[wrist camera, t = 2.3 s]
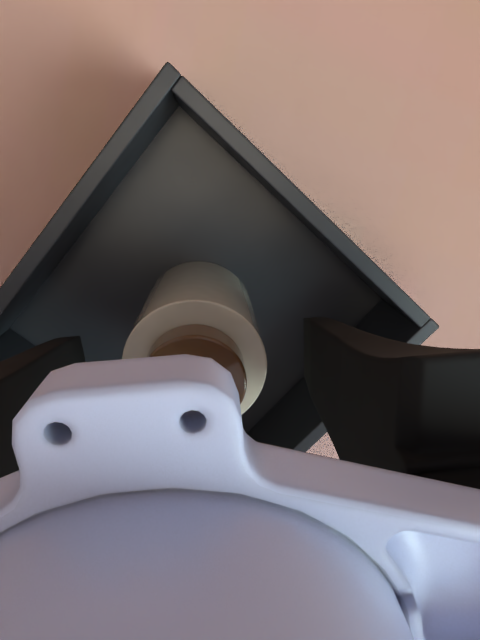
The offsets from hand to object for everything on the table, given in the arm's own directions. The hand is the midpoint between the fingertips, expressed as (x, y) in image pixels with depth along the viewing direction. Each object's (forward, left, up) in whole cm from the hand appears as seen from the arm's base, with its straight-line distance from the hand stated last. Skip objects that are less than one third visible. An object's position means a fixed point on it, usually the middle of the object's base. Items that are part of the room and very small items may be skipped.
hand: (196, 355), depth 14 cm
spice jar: (0, 0, -4) cm, 4 cm away
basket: (0, 0, -5) cm, 5 cm away
